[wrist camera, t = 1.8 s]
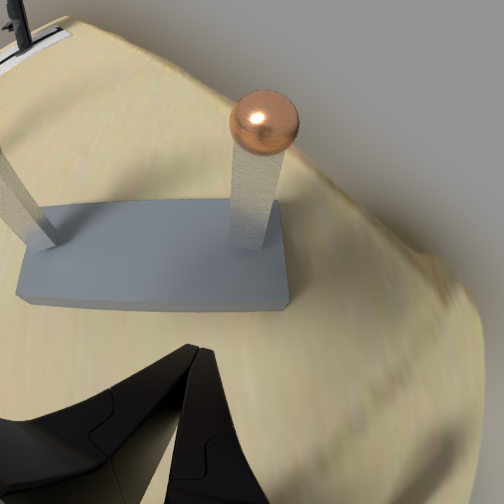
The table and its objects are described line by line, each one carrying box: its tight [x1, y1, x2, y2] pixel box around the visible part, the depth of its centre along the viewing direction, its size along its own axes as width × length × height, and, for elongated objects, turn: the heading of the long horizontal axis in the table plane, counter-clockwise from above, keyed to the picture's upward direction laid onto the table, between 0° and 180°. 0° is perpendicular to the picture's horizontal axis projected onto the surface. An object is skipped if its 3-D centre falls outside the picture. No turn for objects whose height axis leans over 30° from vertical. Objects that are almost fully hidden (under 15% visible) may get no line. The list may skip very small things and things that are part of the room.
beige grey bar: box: [0, 148, 57, 253], centre depth 15 cm, size 3×3×12 cm
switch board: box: [15, 199, 290, 312], centre depth 23 cm, size 9×23×2 cm, turn 93°
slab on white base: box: [0, 0, 72, 75], centre depth 40 cm, size 32×25×28 cm
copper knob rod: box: [228, 90, 300, 252], centre depth 17 cm, size 3×3×12 cm
